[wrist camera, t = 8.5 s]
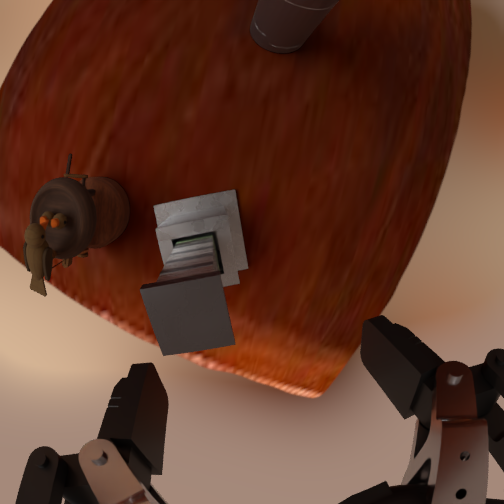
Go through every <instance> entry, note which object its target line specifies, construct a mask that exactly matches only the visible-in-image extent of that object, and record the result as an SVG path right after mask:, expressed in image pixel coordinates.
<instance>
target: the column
mask: <svg viewBox="0 0 504 504" xmlns="http://www.w3.org/2000/svg"><path fill="white" fill-rule="evenodd" d="M140 292H141V295H142V298H143V301H144V304H145V307H146V310H147V313H148V316H149V319H150V322H151V325H152V327H153V330H154V333H155V336H156V338H157V341H158V343H159V346H160V349H161V351H162V354H163V356H166V355H173V354H181V353H188V352H194V351H201V350H207V349H213V348H219V347H224V346H230V345H235V339H234V334H233V330H232V326H231V321H230V317H229V312H228V308H227V303H226V299H225V294H224V289H223V285H222V280H221V275H220V270H219V262H218V255H217V250H216V245H215V240H214V234H213V231H212V232H207V233H201V234H196V235H191V236H186V237H181V238H179V240H178V241H177V242H176V245H175V247H174V248H173V251H172V253H171V254H170V255H169V258H168V260H167V261H166V263H165V266H164V268H163V270H162V271H161V273H160V276H159V278H158V280H157V282H155V283H149V284H144V285H142V287H141V288H140Z"/></svg>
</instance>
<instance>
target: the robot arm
mask: <svg viewBox="0 0 504 504" xmlns="http://www.w3.org/2000/svg"><path fill="white" fill-rule="evenodd" d="M338 1H339V0H259V1H258V4H257V7H256V10H255V13H254V16H253V19H252V23H251V26H250V32H251V36H252V38H253V39H254V40H255V42H256V43H257V44H258V45H260V46H261V47H263V48H264V49H266V50H269V51H271V52H276V53H290V52H293V51H296V50H298V49H299V48H300V47H301V46H302V45H303V44H304V42H305V41H306V40H307V39H308V37H309V36H310V35H311V34H312V32H313V31H314V30H315V29H316V27H317V26H318V25H319V24H320V22H321V21H322V20H323V19H324V18H325V16H326V15H327V14H328V13H329V12H330V10H331V9H332V8H333V7H334V6H335V5H336V3H337V2H338ZM360 354H361V359H362V362H363V364H364V366H365V367H366V369H367V370H368V371H369V373H370V374H371V375H372V376H373V378H374V379H375V380H376V381H377V383H378V384H379V386H380V387H381V388H382V390H383V391H384V392H385V393H386V395H387V396H388V398H389V399H390V401H391V402H392V403H393V404H394V405H395V407H396V409H397V410H398V411H399V413H400V414H401V415H402V417H403V418H404V419H407V418H409V417H411V416H412V415H414V414H415V415H416V416H417V418H418V419H417V421H416V426H415V433H414V440H413V446H412V451H411V457H410V462H409V465H408V468H407V470H406V472H405V475H404V477H403V480H402V483H401V485H397V486H390V487H389V485H388V484H387V482H386V481H385V482H382V483H380V484H378V485H376V486H374V487H372V488H369V489H367V490H364V491H362V492H360V493H357V494H354V495H352V496H350V497H349V498H347V499H345V500H344V501H342V502H340V503H339V504H504V500H499V499H488V498H486V494H487V482H488V462H489V461H488V459H489V452H490V453H491V455H492V456H493V457H494V459H495V460H496V462H497V463H498V464H499V466H500V467H501V469H502V470H503V472H504V410H503V409H502V408H501V407H500V406H499V405H498V404H497V400H498V398H499V396H500V395H502V397H503V398H504V349H493V350H491V351H490V352H489V353H488V354H487V356H486V359H485V361H484V363H482V364H479V365H475V366H472V367H468V366H467V365H465V364H463V363H461V362H458V361H449V362H444V361H443V360H442V359H441V358H440V357H439V356H438V355H437V354H436V353H435V352H433V351H432V350H431V349H430V348H429V347H428V346H427V345H426V344H424V343H423V342H421V340H420V339H419V338H418V337H415V335H414V334H413V333H412V332H411V331H410V330H409V329H407V328H406V327H403V326H401V325H399V324H396V323H395V324H392V323H391V322H390V321H389V320H388V319H387V318H386V317H385V316H383V315H380V316H377V317H374V318H371V319H368V320H365V321H364V323H363V329H362V341H361V351H360ZM167 414H168V396H167V393H166V390H165V388H164V386H163V384H162V382H161V380H160V378H159V375H158V373H157V371H156V368H155V366H154V364H153V363H140V364H132V366H131V368H130V371H129V374H128V377H127V378H122V379H121V380H120V381H119V382H118V383H117V384H116V386H115V387H114V389H113V392H112V395H111V399H110V400H109V403H108V408H107V410H106V412H105V416H104V419H103V422H102V425H101V428H100V431H99V434H98V437H97V439H95V440H92V441H89V442H88V443H86V444H85V445H84V446H83V447H82V448H81V450H80V452H79V453H78V454H72V455H63V456H60V455H58V454H57V452H55V450H53V449H52V448H50V447H46V446H43V447H39V448H37V449H35V450H34V451H33V452H32V453H31V455H30V456H29V459H28V462H27V465H26V468H25V471H24V474H23V478H22V481H21V484H20V488H19V492H18V495H17V499H16V504H61V503H62V497H63V498H64V499H65V503H64V504H168V503H167V502H166V501H165V500H164V498H163V497H162V496H161V495H160V494H159V493H158V491H157V490H156V489H155V488H154V486H153V485H152V484H151V483H150V482H151V475H162V468H163V454H164V443H165V433H166V423H167Z"/></svg>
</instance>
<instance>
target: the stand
mask: <svg viewBox="0 0 504 504" xmlns="http://www.w3.org/2000/svg"><path fill="white" fill-rule="evenodd" d="M154 211H155V216H156V221H157V225H158V227H157V228H156V229H155V230H156V234H157V238H158V243H159V247H160V251H161V255H162V259H163V263H164V266H165V263H166V261H167V260H168V258H169V255H170V254H171V253H172V251H173V248H174V247H175V245H176V242H177V241H178V240H179V238H181V237H186V236H191V235H196V234H201V233H207V232H212V231H213V234H214V240H215V245H216V250H217V255H218V262H219V270H220V275H221V280H222V285H223V287H224V286H229V285H234V284H239V283H240V282H239V276H238V271H239V270H244V269H248V264H247V258H246V252H245V246H244V240H243V234H242V228H241V222H240V216H239V210H238V204H237V198H236V192H235V189H234V190H228V191H223V192H217V193H212V194H207V195H201V196H196V197H191V198H186V199H182V200H177V201H172V202H167V203H163V204H158V205H154Z"/></svg>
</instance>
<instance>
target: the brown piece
mask: <svg viewBox="0 0 504 504" xmlns="http://www.w3.org/2000/svg"><path fill="white" fill-rule="evenodd" d="M71 159H72V154H69V156H68V163H67V169H66V174H64V177H62V178H56V179H53V180H51V181H49V182H47V183H46V184H45V185H44V186H42V187H41V189H40V190H39V191H38V192H37V194H36V196H35V198H34V200H33V202H32V206H31V211H30V225H29V226H28V227H27V228H26V231H25V243H24V247H23V251H24V259H25V264H26V268H27V271H29V272H30V271H31V273H32V279H31V284H30V289H31V290H34V291H36V292H37V293H40V294H41V295H43V296H46V295H47V293H46V290H45V284H44V279H43V277H44V275H45V279H46V280H48V281H49V280H50V277H51V271H52V268H54V267H55V266H57V265H58V264H60V263H62V265H63V266H64V267H65V268H67V267H68V266H70V265H71V264H72V258H73V257H75V256H78V257H87V256H88V253H87V252H88V248H101V247H104V246H106V245H108V244H109V243H111V242H112V241H114V240H115V239H117V238H118V237H119V236H120V235H121V234H122V233H123V231H124V230H125V228H126V226H127V224H128V221H129V216H130V205H129V200H128V197H127V195H126V193H125V191H124V189H123V188H122V187H121V186H120V185H119V184H118V183H117V182H116V181H114V180H112V179H110V178H106V177H89V178H88V175H77V174H69V172H70V165H71ZM65 177H75V178H82V180H81V181H79V182H78V181H76V180H74V179H71V178H65ZM54 258H58V259H63V261H61V262H60V263H58V264H57V265H55V266H54V267H52V261H53V259H54Z"/></svg>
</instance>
